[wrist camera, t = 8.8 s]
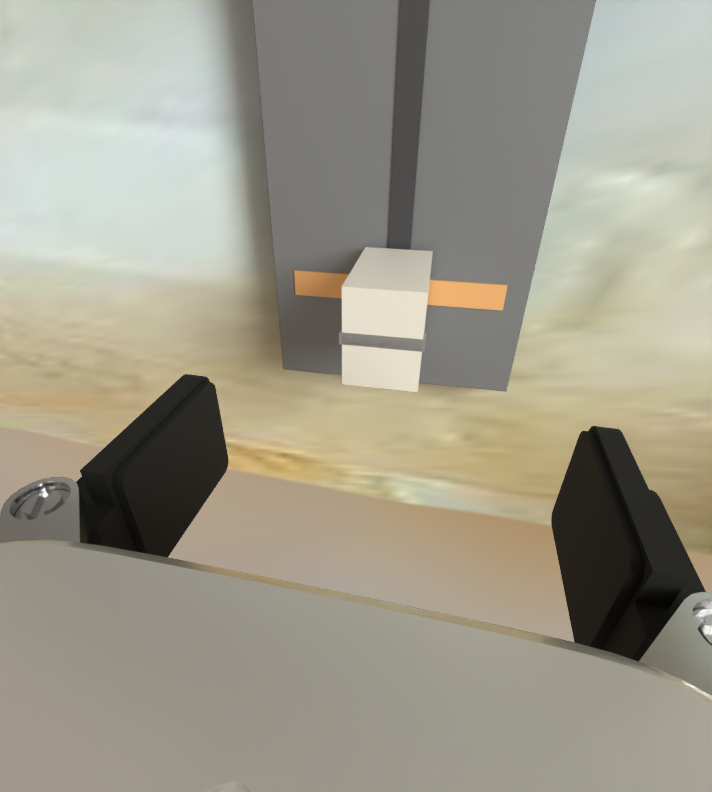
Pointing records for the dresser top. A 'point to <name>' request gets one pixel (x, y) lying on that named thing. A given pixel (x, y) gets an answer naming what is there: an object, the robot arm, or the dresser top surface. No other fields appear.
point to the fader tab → (385, 318)
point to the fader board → (415, 162)
